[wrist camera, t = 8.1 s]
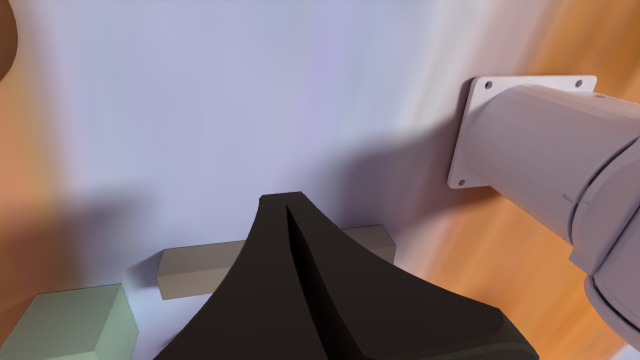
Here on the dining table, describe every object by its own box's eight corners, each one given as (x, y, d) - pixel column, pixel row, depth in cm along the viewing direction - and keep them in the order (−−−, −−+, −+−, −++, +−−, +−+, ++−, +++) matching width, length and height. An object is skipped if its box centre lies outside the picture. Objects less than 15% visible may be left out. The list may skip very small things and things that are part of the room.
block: (121, 283, 22) (94, 351, 18) (138, 332, 25) (118, 401, 20) (36, 294, 21) (-15, 369, 17) (62, 344, 23) (24, 420, 19)
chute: (382, 224, 25) (396, 245, 23) (369, 314, 30) (379, 338, 27) (163, 249, 22) (155, 276, 19) (188, 345, 26) (183, 376, 24)
